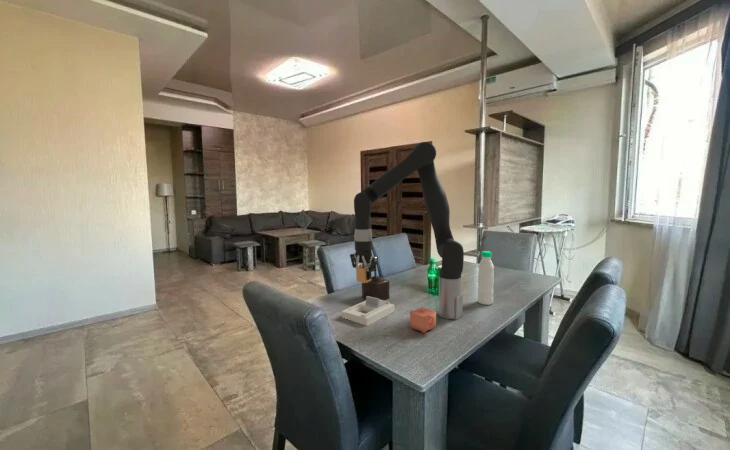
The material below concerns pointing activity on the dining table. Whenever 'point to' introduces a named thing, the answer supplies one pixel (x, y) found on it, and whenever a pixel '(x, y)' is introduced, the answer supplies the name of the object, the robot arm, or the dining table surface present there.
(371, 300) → the grey block
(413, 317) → the pink cube teapot
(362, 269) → the plug
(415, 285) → the dining table surface
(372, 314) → the socket plate
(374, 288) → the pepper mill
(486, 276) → the white milk bottle
